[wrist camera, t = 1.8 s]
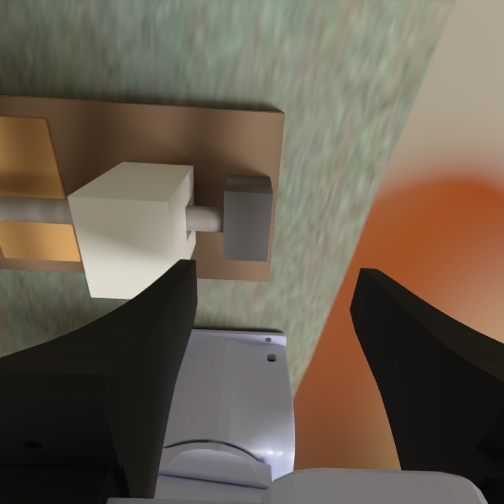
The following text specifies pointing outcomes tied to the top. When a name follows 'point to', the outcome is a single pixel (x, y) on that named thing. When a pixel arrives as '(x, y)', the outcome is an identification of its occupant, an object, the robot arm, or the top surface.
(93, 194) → the sleeve
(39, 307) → the top surface
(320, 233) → the top surface
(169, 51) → the top surface
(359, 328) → the robot arm
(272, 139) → the rail board
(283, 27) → the top surface
